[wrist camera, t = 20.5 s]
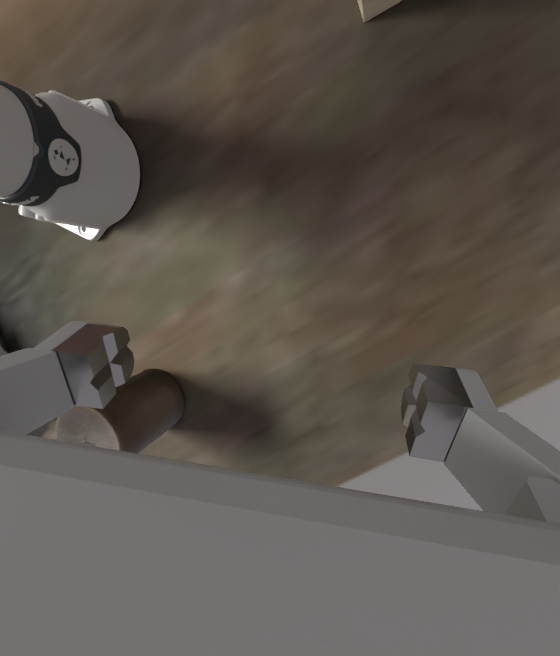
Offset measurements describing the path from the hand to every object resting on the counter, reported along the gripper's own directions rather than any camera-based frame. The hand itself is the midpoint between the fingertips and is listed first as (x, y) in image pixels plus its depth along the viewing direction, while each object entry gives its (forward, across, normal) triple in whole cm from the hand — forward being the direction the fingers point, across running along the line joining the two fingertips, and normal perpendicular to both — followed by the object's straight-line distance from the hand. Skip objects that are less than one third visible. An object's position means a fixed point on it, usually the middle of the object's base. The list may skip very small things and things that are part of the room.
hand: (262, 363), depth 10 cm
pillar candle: (+30, +22, +32) cm, 49 cm away
